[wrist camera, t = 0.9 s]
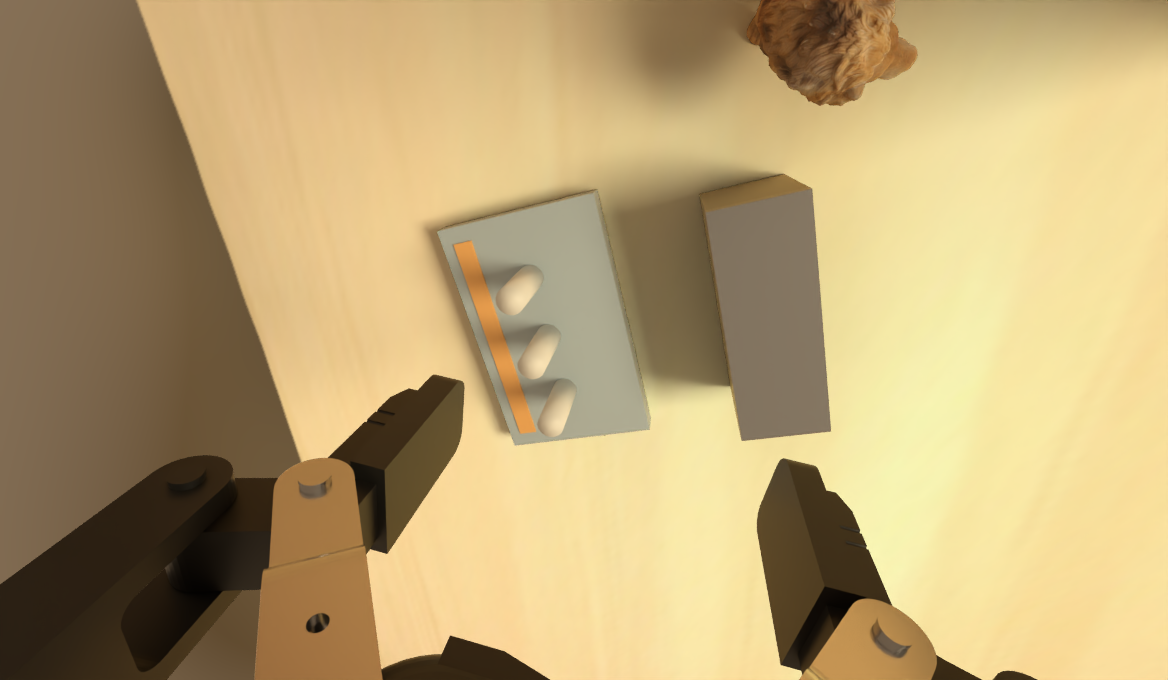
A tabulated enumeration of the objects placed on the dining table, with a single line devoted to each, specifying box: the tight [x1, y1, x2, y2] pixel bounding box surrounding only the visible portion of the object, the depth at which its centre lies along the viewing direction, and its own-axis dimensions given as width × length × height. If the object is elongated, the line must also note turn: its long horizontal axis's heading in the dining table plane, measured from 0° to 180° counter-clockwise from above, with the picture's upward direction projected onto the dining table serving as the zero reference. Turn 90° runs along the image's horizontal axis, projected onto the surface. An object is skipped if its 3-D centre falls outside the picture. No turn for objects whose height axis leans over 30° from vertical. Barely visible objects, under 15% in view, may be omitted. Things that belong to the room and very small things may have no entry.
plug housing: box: [699, 174, 831, 441], centre depth 27 cm, size 5×13×6 cm, turn 14°
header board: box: [437, 190, 651, 445], centre depth 30 cm, size 10×16×6 cm, turn 14°
